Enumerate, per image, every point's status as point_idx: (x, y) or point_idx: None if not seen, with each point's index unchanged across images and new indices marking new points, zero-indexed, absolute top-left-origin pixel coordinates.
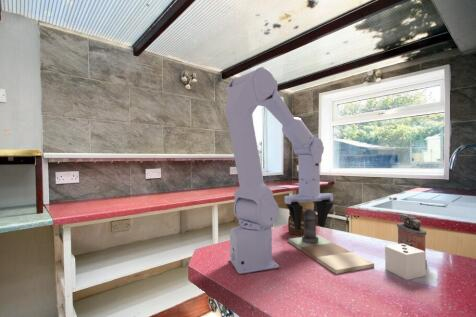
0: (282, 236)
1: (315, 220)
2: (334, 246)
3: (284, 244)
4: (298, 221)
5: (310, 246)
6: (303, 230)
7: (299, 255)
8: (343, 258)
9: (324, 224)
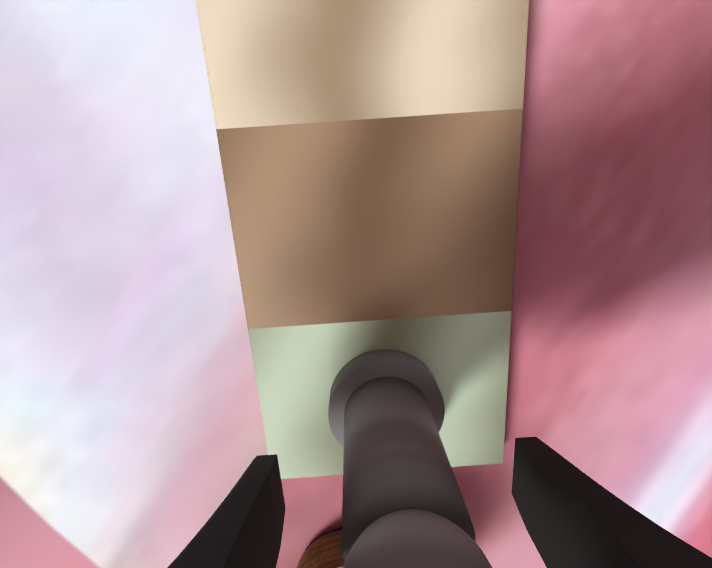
0: (479, 531)
1: (361, 506)
2: (278, 261)
3: (542, 414)
4: (607, 491)
5: (442, 304)
6: (340, 554)
7: (560, 227)
8: (349, 24)
9: (251, 470)
